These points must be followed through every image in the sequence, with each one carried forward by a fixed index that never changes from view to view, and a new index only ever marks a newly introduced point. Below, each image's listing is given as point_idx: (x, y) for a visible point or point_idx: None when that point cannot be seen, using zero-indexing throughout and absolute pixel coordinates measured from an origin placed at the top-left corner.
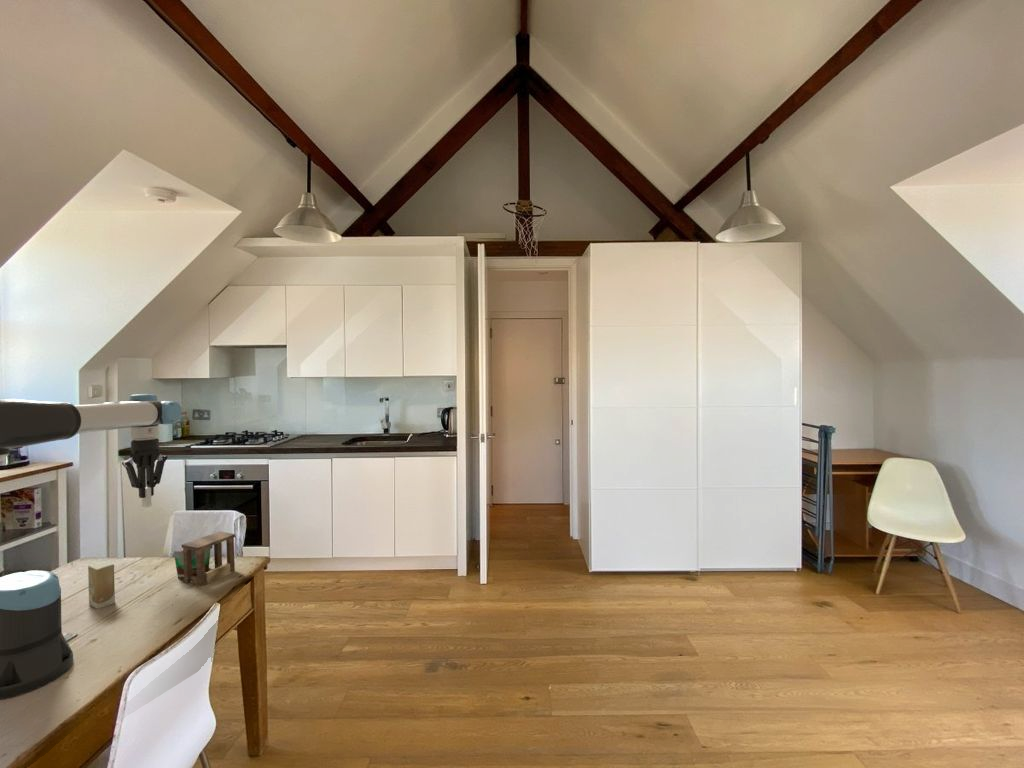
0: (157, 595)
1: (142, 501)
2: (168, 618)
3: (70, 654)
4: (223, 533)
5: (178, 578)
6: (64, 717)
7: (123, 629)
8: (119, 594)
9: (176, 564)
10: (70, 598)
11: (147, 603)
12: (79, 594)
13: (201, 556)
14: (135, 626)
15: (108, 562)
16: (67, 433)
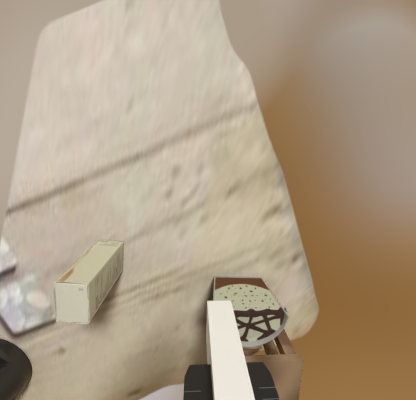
0: (164, 304)
1: (209, 329)
2: (132, 377)
3: (15, 397)
4: (294, 380)
5: (214, 277)
6: None
7: (91, 356)
8: (140, 246)
9: (213, 295)
10: (95, 183)
11: (143, 315)
12: (109, 180)
13: None
14: (102, 361)
15: (86, 304)
16: None
